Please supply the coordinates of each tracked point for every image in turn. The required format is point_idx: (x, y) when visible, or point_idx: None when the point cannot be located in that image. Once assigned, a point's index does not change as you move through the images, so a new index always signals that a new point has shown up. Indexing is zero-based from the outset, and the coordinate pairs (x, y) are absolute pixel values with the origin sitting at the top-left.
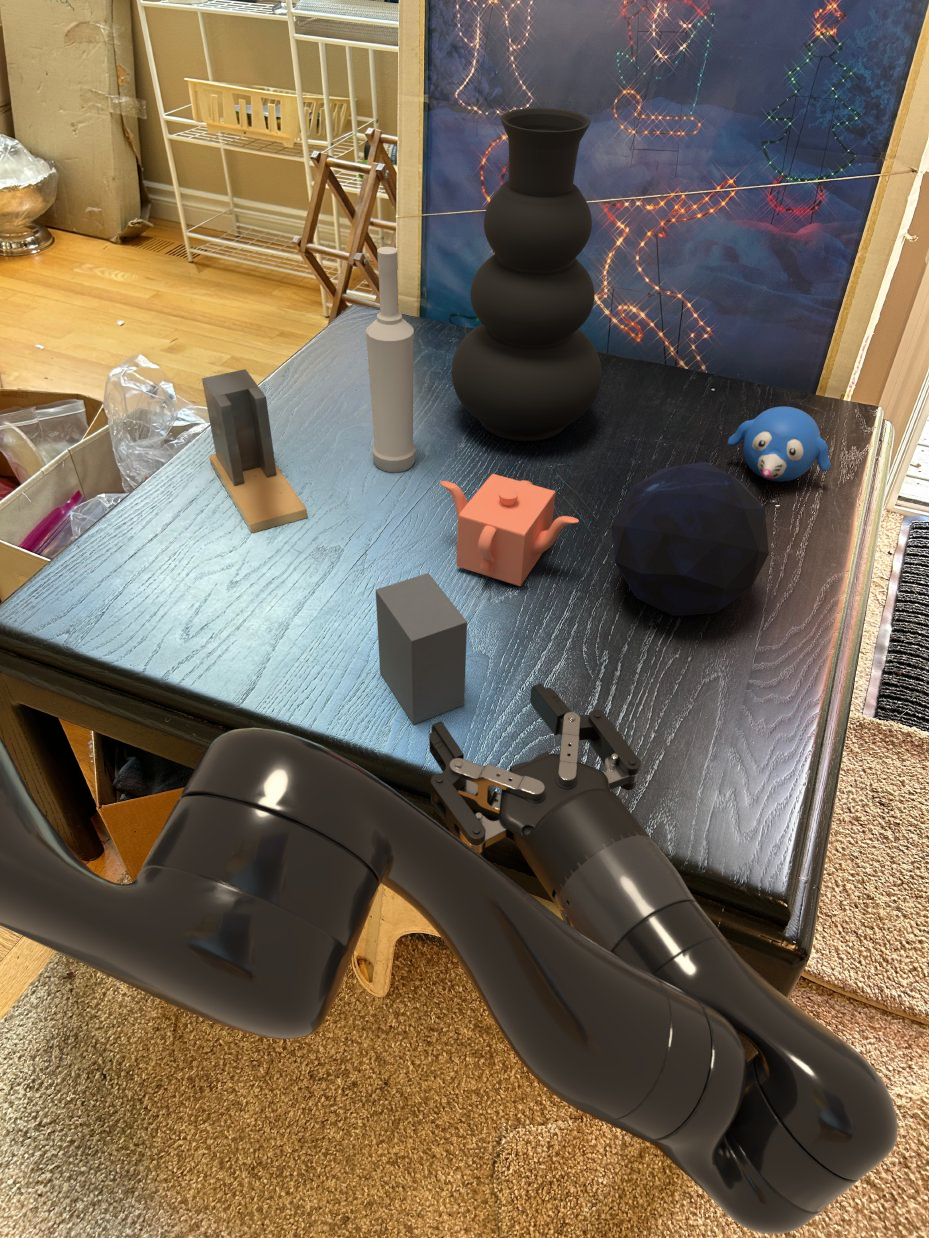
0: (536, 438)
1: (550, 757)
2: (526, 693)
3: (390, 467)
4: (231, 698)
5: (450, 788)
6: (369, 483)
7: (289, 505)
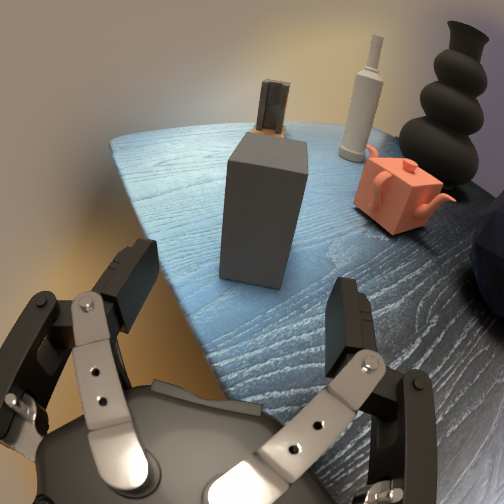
0: None
1: (254, 423)
2: None
3: (345, 155)
4: (133, 196)
5: (35, 325)
6: (329, 157)
7: None
